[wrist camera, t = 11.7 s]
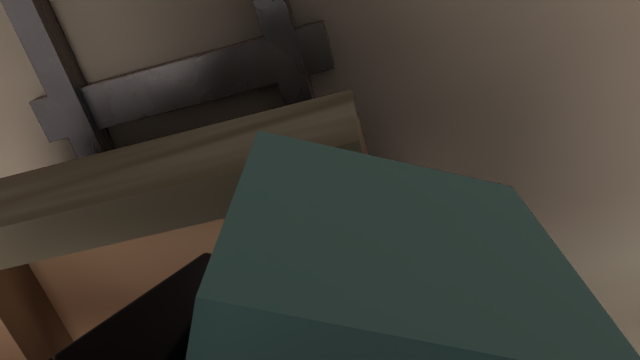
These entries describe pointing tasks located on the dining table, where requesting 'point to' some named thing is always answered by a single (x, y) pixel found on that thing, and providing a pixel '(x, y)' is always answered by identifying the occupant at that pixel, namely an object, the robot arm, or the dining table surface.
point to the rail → (162, 74)
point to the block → (387, 268)
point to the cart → (130, 219)
